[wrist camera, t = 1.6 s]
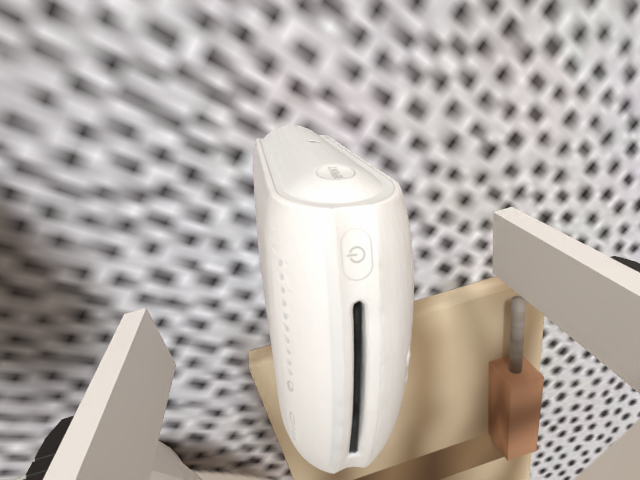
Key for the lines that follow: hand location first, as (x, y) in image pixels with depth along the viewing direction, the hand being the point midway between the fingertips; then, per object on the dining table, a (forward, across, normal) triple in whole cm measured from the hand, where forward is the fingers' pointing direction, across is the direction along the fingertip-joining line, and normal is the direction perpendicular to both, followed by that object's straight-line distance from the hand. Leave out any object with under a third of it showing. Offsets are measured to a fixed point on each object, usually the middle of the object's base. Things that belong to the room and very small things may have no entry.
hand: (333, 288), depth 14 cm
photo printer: (+8, 0, 0) cm, 8 cm away
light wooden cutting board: (+8, +4, -20) cm, 21 cm away
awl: (+6, +12, -15) cm, 20 cm away
